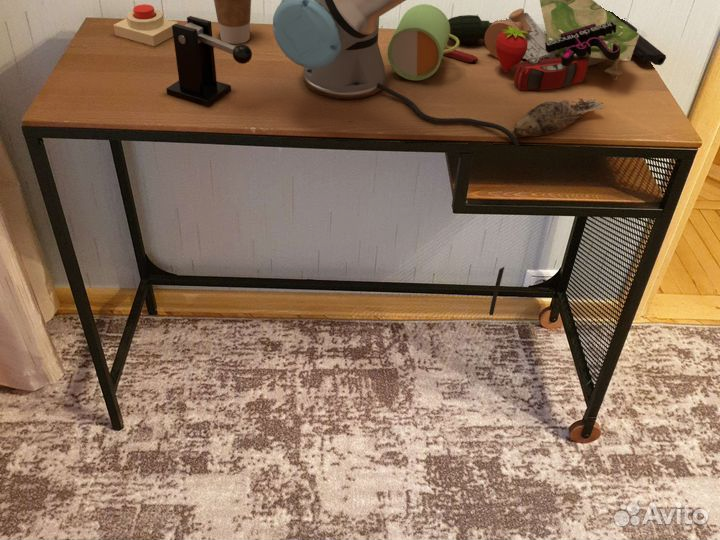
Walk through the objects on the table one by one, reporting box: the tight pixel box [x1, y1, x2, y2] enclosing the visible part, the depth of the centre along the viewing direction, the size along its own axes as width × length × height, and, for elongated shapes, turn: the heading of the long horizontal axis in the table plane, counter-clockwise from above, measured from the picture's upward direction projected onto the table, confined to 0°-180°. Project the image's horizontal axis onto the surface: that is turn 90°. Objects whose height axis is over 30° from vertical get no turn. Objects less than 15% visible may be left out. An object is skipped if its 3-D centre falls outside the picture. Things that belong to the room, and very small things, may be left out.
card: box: [539, 0, 640, 62], centre depth 142 cm, size 22×25×1 cm
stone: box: [492, 12, 562, 61], centre depth 151 cm, size 22×3×10 cm
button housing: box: [112, 8, 179, 47], centre depth 146 cm, size 10×8×4 cm
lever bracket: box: [166, 15, 232, 108], centre depth 125 cm, size 9×7×13 cm
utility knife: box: [443, 46, 479, 63], centre depth 146 cm, size 12×1×2 cm
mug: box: [387, 3, 461, 81], centre depth 137 cm, size 13×10×12 cm
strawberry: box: [496, 22, 530, 73], centre depth 138 cm, size 6×8×10 cm
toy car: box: [513, 56, 589, 91], centre depth 137 cm, size 6×15×5 cm
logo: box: [545, 21, 620, 66], centre depth 134 cm, size 13×2×10 cm
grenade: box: [448, 14, 493, 45], centre depth 149 cm, size 6×6×12 cm
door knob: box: [484, 8, 531, 60], centre depth 145 cm, size 8×10×8 cm
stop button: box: [132, 3, 155, 19], centre depth 145 cm, size 4×4×2 cm
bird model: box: [512, 98, 606, 138], centre depth 125 cm, size 21×6×5 cm, turn 126°
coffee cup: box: [213, 0, 252, 45], centre depth 143 cm, size 8×8×15 cm
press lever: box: [183, 23, 253, 65], centre depth 121 cm, size 13×3×3 cm, turn 63°
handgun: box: [608, 11, 667, 66], centre depth 156 cm, size 4×29×15 cm
